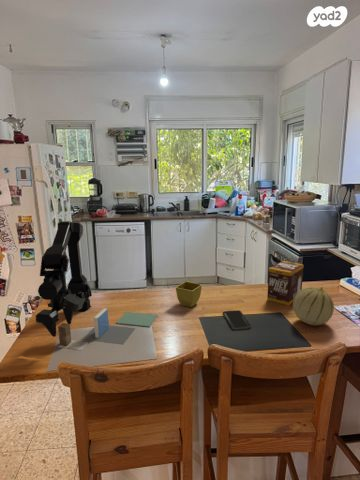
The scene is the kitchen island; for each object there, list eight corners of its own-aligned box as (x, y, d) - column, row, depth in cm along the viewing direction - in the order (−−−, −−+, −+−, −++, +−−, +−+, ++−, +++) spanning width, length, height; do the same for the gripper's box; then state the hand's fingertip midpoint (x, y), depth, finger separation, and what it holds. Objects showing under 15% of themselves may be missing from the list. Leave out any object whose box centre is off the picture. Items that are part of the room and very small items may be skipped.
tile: (95, 337, 122) (93, 317, 120) (105, 327, 129) (104, 308, 128) (99, 338, 121) (97, 318, 120) (109, 327, 129) (107, 308, 127)
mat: (82, 340, 121) (81, 339, 121) (97, 325, 132) (97, 324, 132) (123, 345, 117) (123, 344, 117) (135, 329, 129) (135, 328, 129)
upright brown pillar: (58, 348, 116) (55, 328, 115) (66, 341, 121) (64, 321, 119) (81, 352, 114) (79, 331, 112) (88, 344, 119) (87, 324, 117)
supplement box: (266, 300, 154) (268, 267, 151) (280, 290, 166) (282, 260, 162) (288, 306, 148) (290, 272, 144) (301, 295, 159) (304, 264, 156)
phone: (232, 328, 127) (222, 311, 142) (232, 331, 127) (222, 313, 142) (252, 326, 128) (240, 310, 143) (252, 329, 128) (240, 312, 143)
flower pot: (192, 310, 145) (192, 290, 143) (175, 306, 149) (175, 287, 147) (202, 303, 152) (202, 284, 150) (185, 299, 157) (185, 281, 154)
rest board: (116, 324, 133) (116, 322, 132) (126, 314, 142) (126, 311, 142) (149, 328, 129) (149, 326, 129) (157, 317, 139) (157, 314, 139)
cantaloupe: (284, 318, 136) (286, 283, 132) (311, 312, 141) (314, 278, 138) (311, 335, 123) (314, 297, 119) (340, 327, 128) (344, 290, 125)
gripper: (63, 300, 103) (67, 346, 107) (92, 280, 121) (95, 320, 124) (31, 297, 106) (37, 342, 109) (65, 278, 123) (68, 317, 127)
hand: (62, 330), depth 117 cm, fingers open, 9 cm apart
